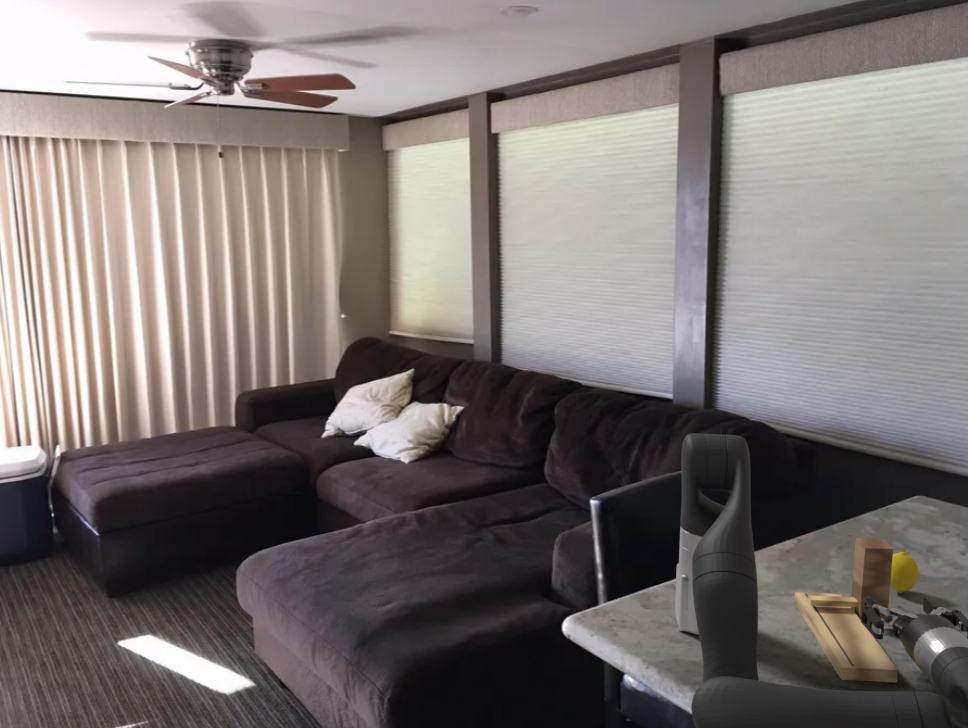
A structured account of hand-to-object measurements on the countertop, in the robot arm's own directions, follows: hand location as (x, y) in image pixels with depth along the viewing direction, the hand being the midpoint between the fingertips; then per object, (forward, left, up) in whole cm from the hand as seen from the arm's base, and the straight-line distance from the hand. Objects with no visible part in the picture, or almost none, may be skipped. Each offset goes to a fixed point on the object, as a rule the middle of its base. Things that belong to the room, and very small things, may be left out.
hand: (897, 602), depth 130 cm
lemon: (+10, +23, -9) cm, 26 cm away
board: (-7, +4, -9) cm, 12 cm away
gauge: (-4, +11, -9) cm, 15 cm away
